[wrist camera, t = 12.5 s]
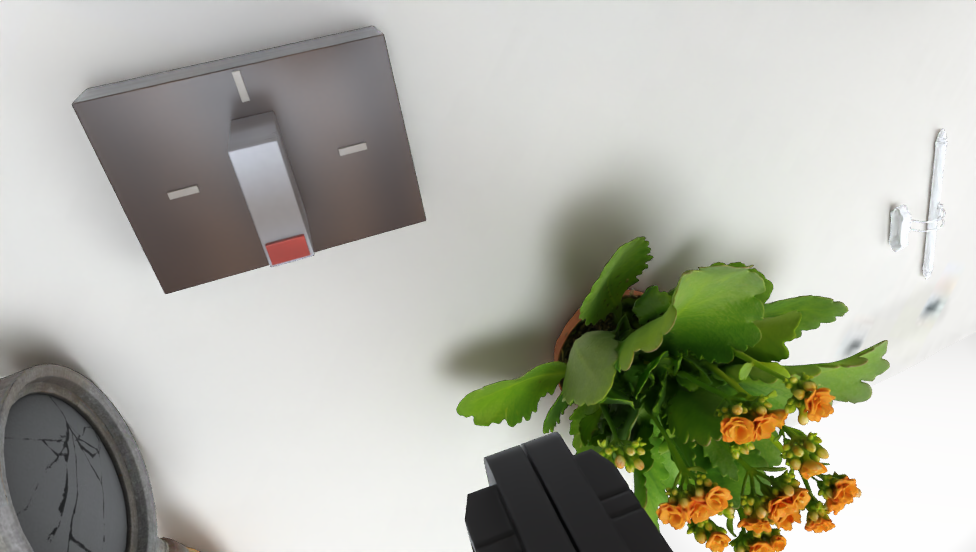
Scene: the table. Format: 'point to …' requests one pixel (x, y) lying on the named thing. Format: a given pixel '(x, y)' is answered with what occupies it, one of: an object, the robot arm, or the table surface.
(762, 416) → the potted flower
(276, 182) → the dial knob
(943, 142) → the picture light
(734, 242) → the table surface
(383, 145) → the dial panel
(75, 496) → the magnifying glass
